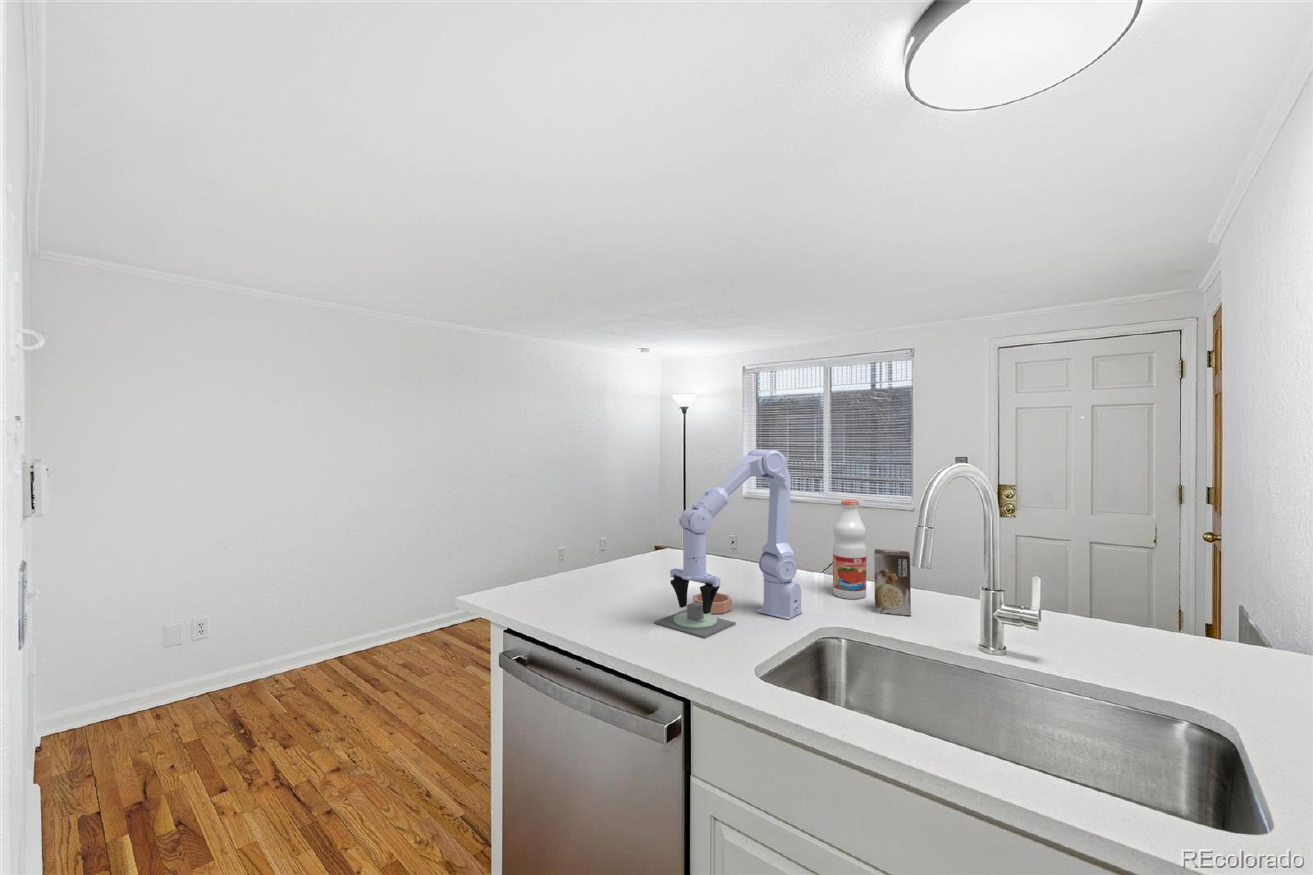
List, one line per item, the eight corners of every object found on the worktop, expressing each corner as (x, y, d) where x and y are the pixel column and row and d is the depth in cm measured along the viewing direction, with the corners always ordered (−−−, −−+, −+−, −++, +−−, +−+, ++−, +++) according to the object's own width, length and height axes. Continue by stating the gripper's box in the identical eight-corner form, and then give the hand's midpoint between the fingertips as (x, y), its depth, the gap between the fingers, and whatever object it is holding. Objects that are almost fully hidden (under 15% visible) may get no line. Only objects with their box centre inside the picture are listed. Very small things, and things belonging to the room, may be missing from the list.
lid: (725, 620, 150) (725, 604, 150) (699, 632, 142) (699, 614, 142) (691, 611, 157) (691, 595, 157) (664, 622, 149) (664, 605, 149)
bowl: (737, 608, 162) (737, 597, 162) (716, 617, 155) (716, 605, 155) (708, 600, 169) (708, 590, 169) (686, 609, 161) (686, 598, 161)
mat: (735, 624, 149) (735, 622, 149) (704, 638, 139) (704, 636, 139) (685, 611, 159) (685, 609, 159) (654, 623, 150) (654, 621, 150)
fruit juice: (857, 590, 179) (858, 498, 179) (871, 599, 170) (872, 502, 169) (827, 591, 178) (828, 498, 178) (840, 600, 169) (840, 503, 169)
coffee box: (910, 609, 160) (910, 551, 160) (911, 617, 154) (911, 556, 154) (874, 606, 164) (874, 548, 163) (873, 613, 158) (874, 553, 157)
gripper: (662, 554, 151) (662, 607, 151) (708, 563, 141) (708, 619, 141) (680, 550, 156) (680, 601, 156) (725, 558, 146) (725, 612, 147)
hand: (694, 609), depth 149 cm, fingers open, 7 cm apart
